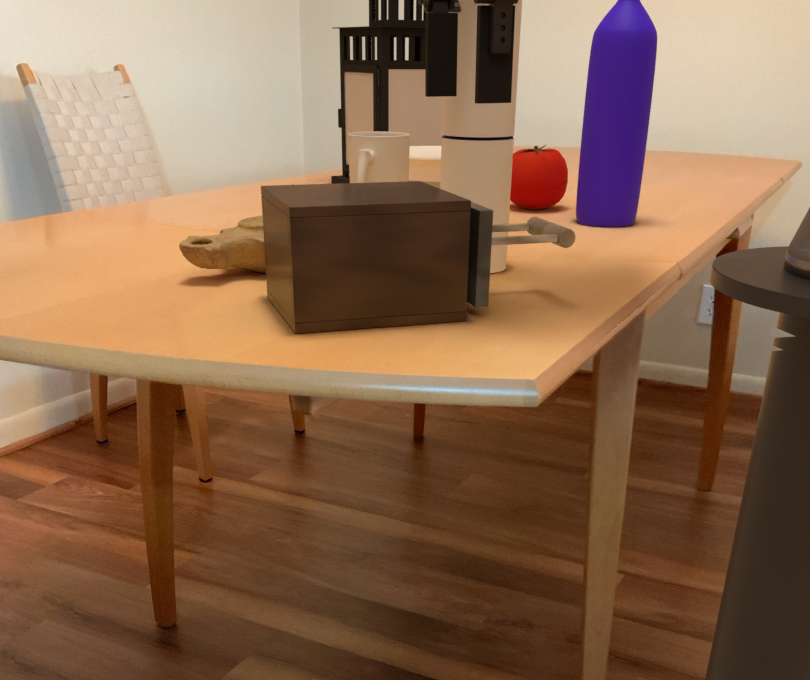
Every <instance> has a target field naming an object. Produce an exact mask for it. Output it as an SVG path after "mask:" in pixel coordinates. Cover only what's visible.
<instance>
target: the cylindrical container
mask: <svg viewBox="0 0 810 680" xmlns="http://www.w3.org/2000/svg"><path fill="white" fill-rule="evenodd" d="M459 3H460V6H461V8H460V9H462V10H461V12H448V13H458V43H457V96H444V97H443V102H442V135H444V136H442V141H441V178H440V189H442V190H445V191H447V192H450V193H452V194H455V195H458V196H460V197H463V198H465V199H468V200H471V202H473V203H476V204H478V205H481V206H483V207H486V208H488V209H491V210H493V225H494V224H510V208H511V201H510V194H511V177H512V161H513V153H514V143H515V137H514V136H515V126H516V110H517V94H518V78H519V77H518V75H519V61H520V45H521V44H520V43H521V27H522V11H523V0H519V1H518V3H517V4H513V5H515V24H514V47H513V70H512V93H511V103H481V104H477V103H475V75H476V37H477V6H479V5H489V4H475V3H474V0H459ZM506 236H509V232H492V237H506ZM507 258H508V245H492V246H491V263H490V274H495V273H500V272H503V271H505V270H506V269H507V260H508V259H507Z"/></svg>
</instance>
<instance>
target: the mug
mask: <svg viewBox="0 0 810 680" xmlns="http://www.w3.org/2000/svg"><path fill="white" fill-rule="evenodd" d="M348 141H349V174H350V183H373V182H408V181H409V154H410V134H408V133H401V132H379V131H373V132H353V133H349V134H348Z"/></svg>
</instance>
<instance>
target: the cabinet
mask: <svg viewBox="0 0 810 680" xmlns="http://www.w3.org/2000/svg"><path fill="white" fill-rule="evenodd" d="M260 196H261V213H262V215H261V216H263V231H264V248H265V264H266V273H265V278H266V279H265V280H266V295H267V296H266V297H267V299H268V300H269V302H270V303H271V305H273V307H274V308H275V309H276V310H277V312H278V313H279V314H280V316H281V317H282V318H283V319H284V321H285V322H286V324H287V325H288V327H290V328H291V330H292V331H293V333H294V334H308V333H309V334H310V333H320V332H321V333H322V332H334V331H349V330H364V329H376V328H390V327H403V326H415V325H429V324H444V323H455V322H458V323H459V322H467V308H468V302H467V286H468V262H469V238H470V214H471V212H470V210H471V200H468V199H465V198H463V197H460V196H458V195H455V194H452V193H450V192H447V191H445V190H442V189H439V188H437V187H434V186H432V185H429V184H426V183H424V182H421V181H408V182H373V183H339V184H333V183H307V184H277V185H274V184H273V185H260Z"/></svg>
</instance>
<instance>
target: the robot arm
mask: <svg viewBox="0 0 810 680" xmlns="http://www.w3.org/2000/svg"><path fill="white" fill-rule="evenodd" d="M518 1H519V0H474V3H475V4H489V5H479V6H477V37H476V75H475V103H477V104H481V103H511V93H512V70H513V47H514V24H515V5H513V4H517V3H518ZM418 3H419V5H422V8H423V7H424V11H425V12H427V13H426V60H425V96H426V97H444V96H457V43H458V13H448V12H461V10H462V9H460V8H461V6H460V3H459V0H418ZM428 12H429V13H428ZM788 246H789V248H788V250H787V252H786V257H785V262H784V269H785V270H786V271H787V272H789V273H791V274H793V275H795V276H798V277H801V278H805V279H808V280H810V207H808V210H807V211H806V213H805V215H804V217H803V219H802V221H801V223H800V224H799V226H798V228H797V230H796V232H795V234H794V236H793V237H792V239H791V240H790V243H789V245H788Z"/></svg>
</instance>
